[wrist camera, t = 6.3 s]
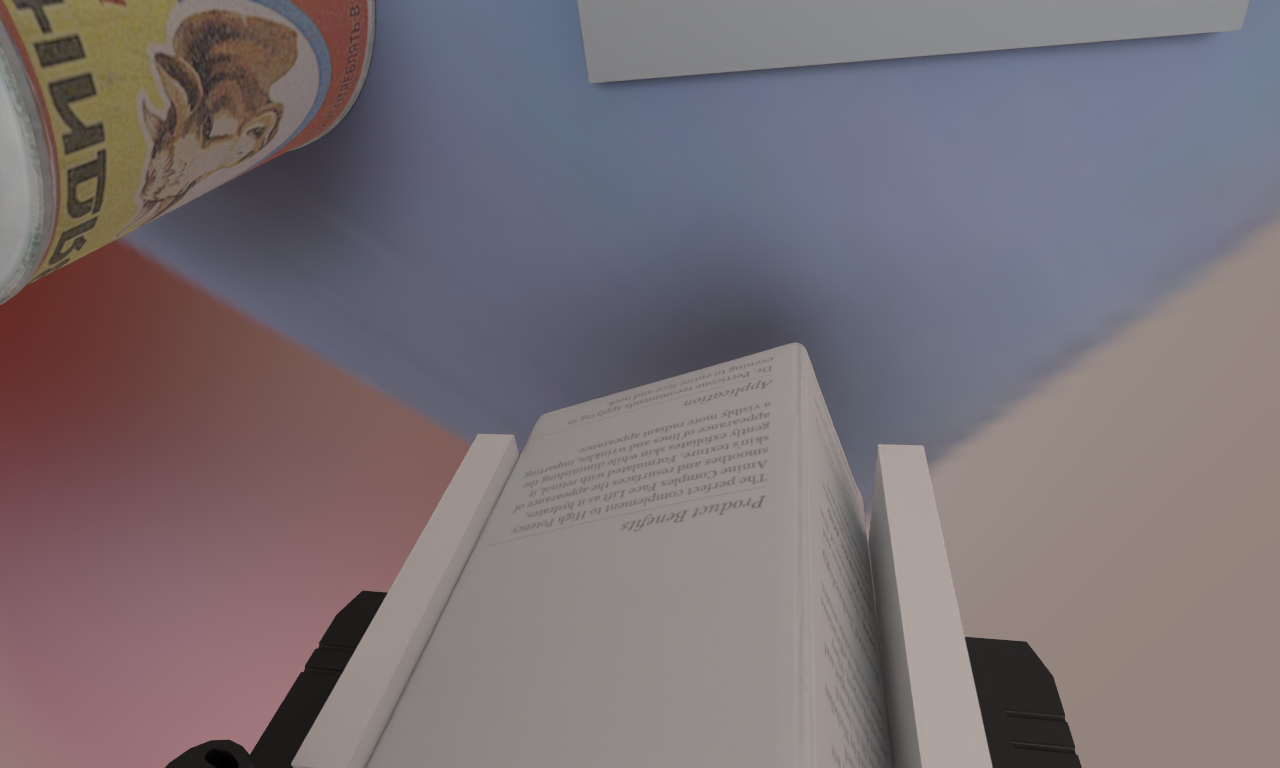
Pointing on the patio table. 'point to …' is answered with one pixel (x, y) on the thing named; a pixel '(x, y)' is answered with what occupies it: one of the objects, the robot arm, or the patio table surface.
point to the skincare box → (663, 592)
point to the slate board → (861, 30)
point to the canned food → (155, 109)
